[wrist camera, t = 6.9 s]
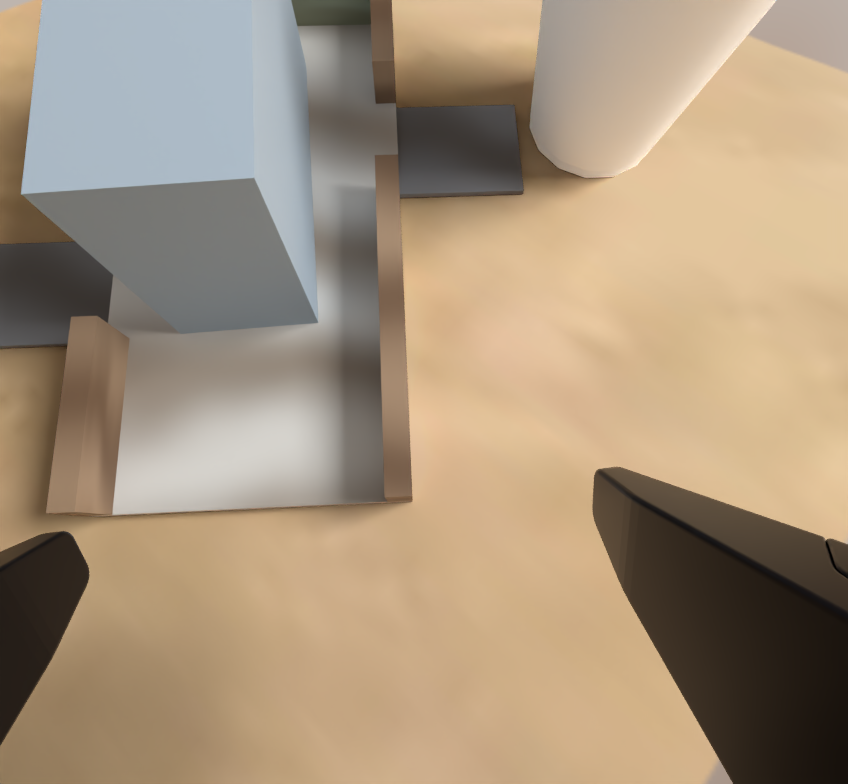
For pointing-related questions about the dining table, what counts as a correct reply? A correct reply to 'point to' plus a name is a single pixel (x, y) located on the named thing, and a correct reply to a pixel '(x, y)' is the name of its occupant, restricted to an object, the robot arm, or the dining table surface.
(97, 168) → the slate box
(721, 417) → the dining table surface
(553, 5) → the foam cup
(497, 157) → the lane
